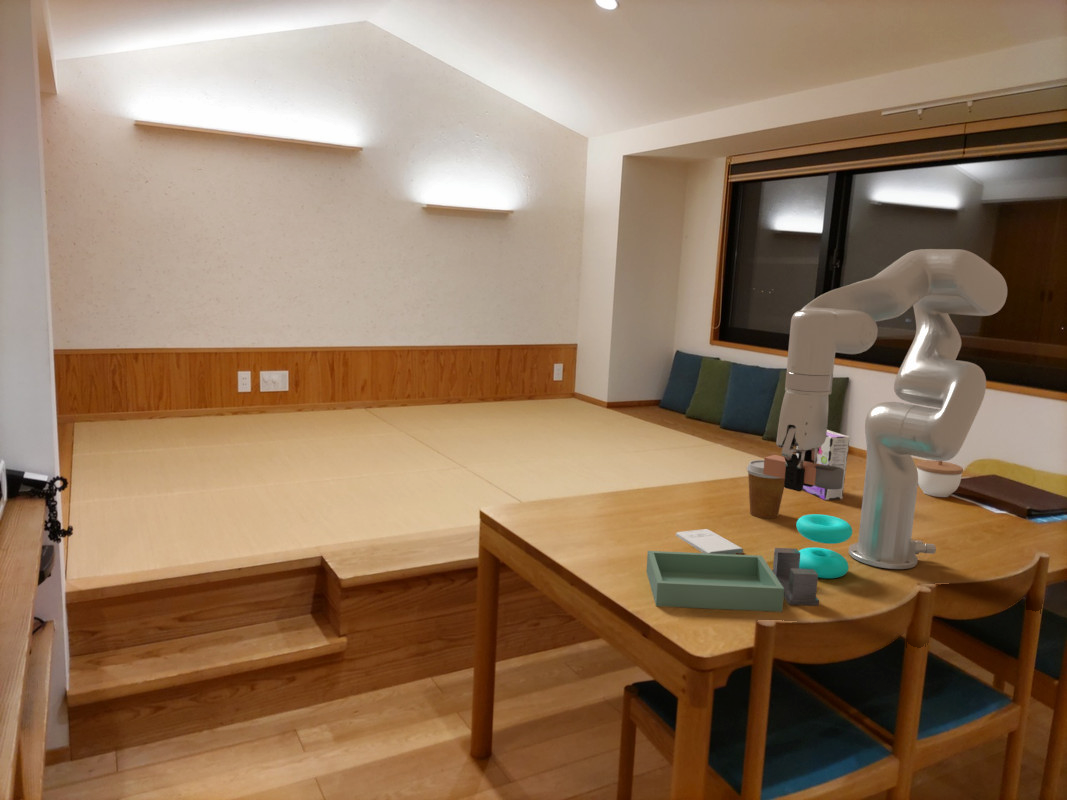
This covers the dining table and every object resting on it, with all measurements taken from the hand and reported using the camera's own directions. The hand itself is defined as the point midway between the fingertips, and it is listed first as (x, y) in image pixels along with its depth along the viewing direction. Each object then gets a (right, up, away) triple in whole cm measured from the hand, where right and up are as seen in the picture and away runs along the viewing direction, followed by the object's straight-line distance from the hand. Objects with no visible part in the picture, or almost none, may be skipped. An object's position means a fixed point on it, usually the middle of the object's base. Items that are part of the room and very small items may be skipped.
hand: (798, 486), depth 136 cm
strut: (0, +1, 0) cm, 1 cm away
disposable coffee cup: (+8, -12, +47) cm, 49 cm away
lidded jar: (+59, -10, +69) cm, 91 cm away
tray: (-15, -19, +2) cm, 24 cm away
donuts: (+8, -18, +13) cm, 24 cm away
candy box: (+27, -9, +67) cm, 73 cm away
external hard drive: (-10, -16, +25) cm, 31 cm away
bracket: (0, -19, +3) cm, 19 cm away
